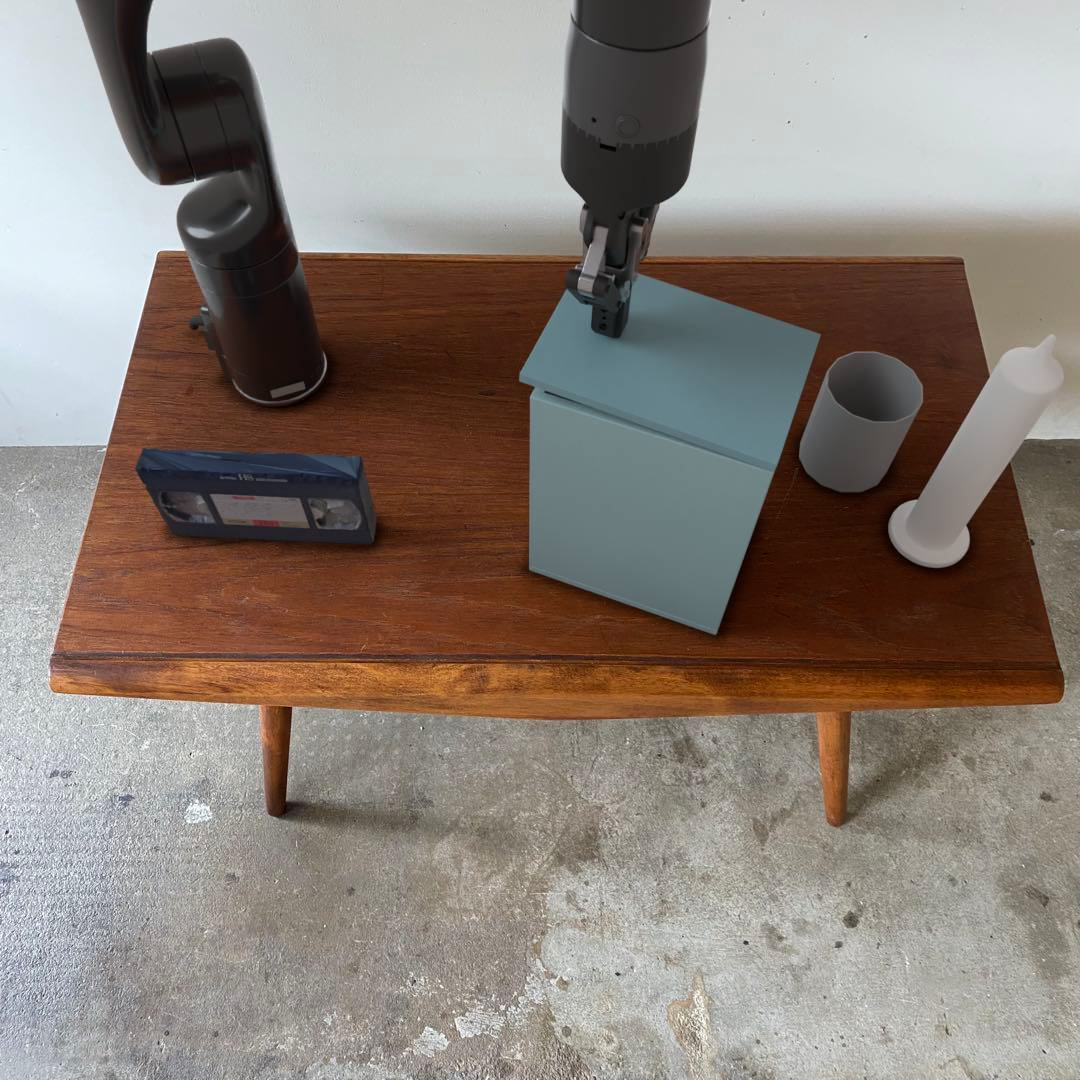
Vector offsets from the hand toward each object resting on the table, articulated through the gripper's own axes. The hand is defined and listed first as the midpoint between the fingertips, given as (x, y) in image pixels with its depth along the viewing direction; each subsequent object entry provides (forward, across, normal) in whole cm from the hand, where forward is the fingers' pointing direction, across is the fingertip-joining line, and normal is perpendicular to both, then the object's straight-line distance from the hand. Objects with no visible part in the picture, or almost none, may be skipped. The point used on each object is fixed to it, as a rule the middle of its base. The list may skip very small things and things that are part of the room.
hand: (608, 328), depth 67 cm
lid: (+1, 0, +5) cm, 5 cm away
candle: (+25, -11, +29) cm, 39 cm away
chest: (+25, 0, +5) cm, 25 cm away
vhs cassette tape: (+25, +11, -26) cm, 38 cm away
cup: (+25, -17, +20) cm, 36 cm away
